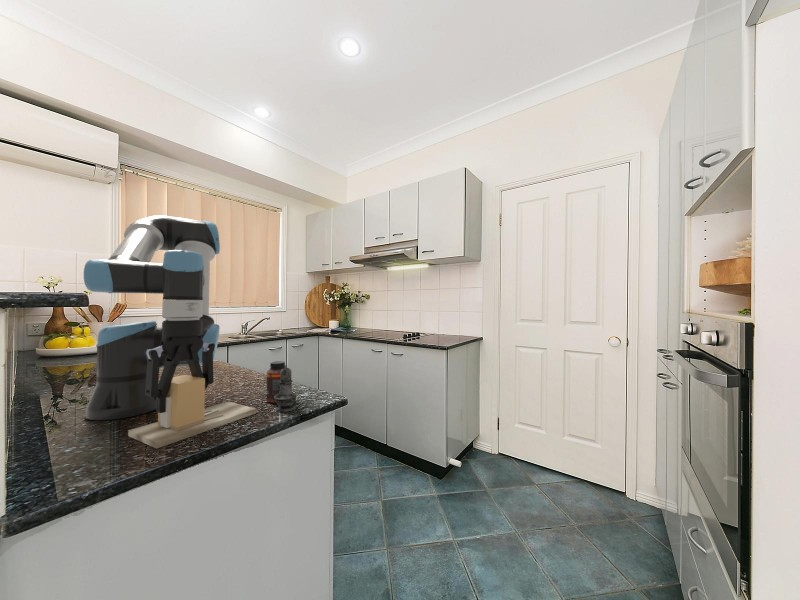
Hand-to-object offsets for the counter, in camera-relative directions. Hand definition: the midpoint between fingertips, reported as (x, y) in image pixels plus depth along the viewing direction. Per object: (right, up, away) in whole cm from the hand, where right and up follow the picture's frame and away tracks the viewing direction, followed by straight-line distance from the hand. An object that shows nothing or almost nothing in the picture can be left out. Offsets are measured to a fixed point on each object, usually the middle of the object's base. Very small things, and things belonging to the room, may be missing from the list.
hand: (181, 421), depth 68 cm
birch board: (+2, -2, +3) cm, 4 cm away
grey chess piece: (+19, -2, +14) cm, 23 cm away
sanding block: (0, -1, 0) cm, 1 cm away
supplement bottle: (+13, -2, +21) cm, 25 cm away
